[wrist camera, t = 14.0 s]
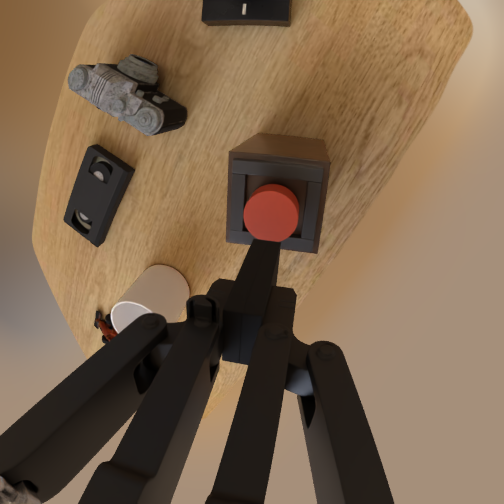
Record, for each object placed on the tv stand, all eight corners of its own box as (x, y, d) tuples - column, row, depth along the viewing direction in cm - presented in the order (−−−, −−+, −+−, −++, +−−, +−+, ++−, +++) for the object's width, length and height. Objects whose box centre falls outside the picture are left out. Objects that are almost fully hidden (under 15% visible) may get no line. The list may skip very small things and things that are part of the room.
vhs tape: (96, 143, 42) (88, 145, 40) (135, 169, 43) (128, 172, 41) (69, 216, 49) (62, 220, 47) (103, 242, 50) (97, 247, 48)
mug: (131, 303, 54) (101, 341, 45) (152, 252, 49) (118, 289, 39) (172, 328, 55) (148, 371, 46) (199, 281, 49) (174, 324, 40)
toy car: (99, 303, 56) (87, 316, 52) (174, 347, 57) (165, 363, 53) (93, 328, 60) (83, 341, 56) (163, 369, 61) (155, 384, 57)
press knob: (301, 186, 24) (301, 194, 22) (296, 235, 26) (295, 246, 24) (249, 181, 25) (244, 187, 23) (246, 229, 26) (241, 239, 25)
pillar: (323, 139, 37) (331, 163, 23) (316, 201, 41) (317, 258, 27) (258, 133, 38) (226, 152, 24) (254, 194, 42) (223, 246, 28)
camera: (205, 91, 37) (174, 89, 28) (178, 134, 40) (142, 146, 31) (121, 44, 35) (77, 36, 26) (100, 85, 38) (54, 87, 29)
